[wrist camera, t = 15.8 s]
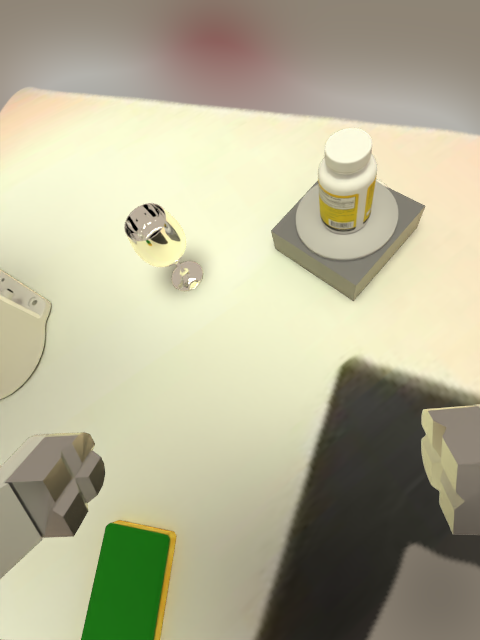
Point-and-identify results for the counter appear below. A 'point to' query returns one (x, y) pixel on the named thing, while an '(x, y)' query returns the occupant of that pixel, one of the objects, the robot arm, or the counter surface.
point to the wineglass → (162, 243)
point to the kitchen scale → (347, 239)
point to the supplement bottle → (347, 181)
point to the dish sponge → (130, 583)
